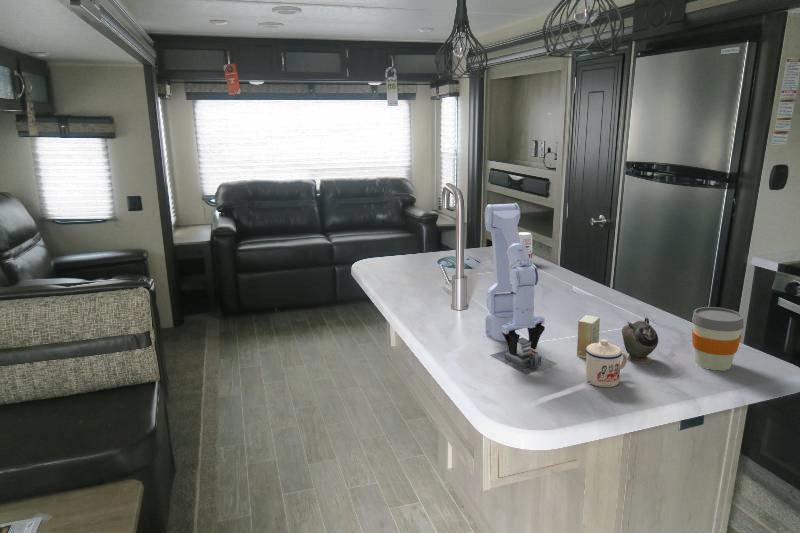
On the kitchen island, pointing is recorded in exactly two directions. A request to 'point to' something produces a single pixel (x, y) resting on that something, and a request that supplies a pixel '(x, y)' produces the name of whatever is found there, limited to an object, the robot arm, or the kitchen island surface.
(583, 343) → the skincare box
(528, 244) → the supplement can
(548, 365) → the stand base
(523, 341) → the grey ribbed block
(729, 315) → the reusable coffee cup
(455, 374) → the kitchen island surface
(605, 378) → the teacup with lid
